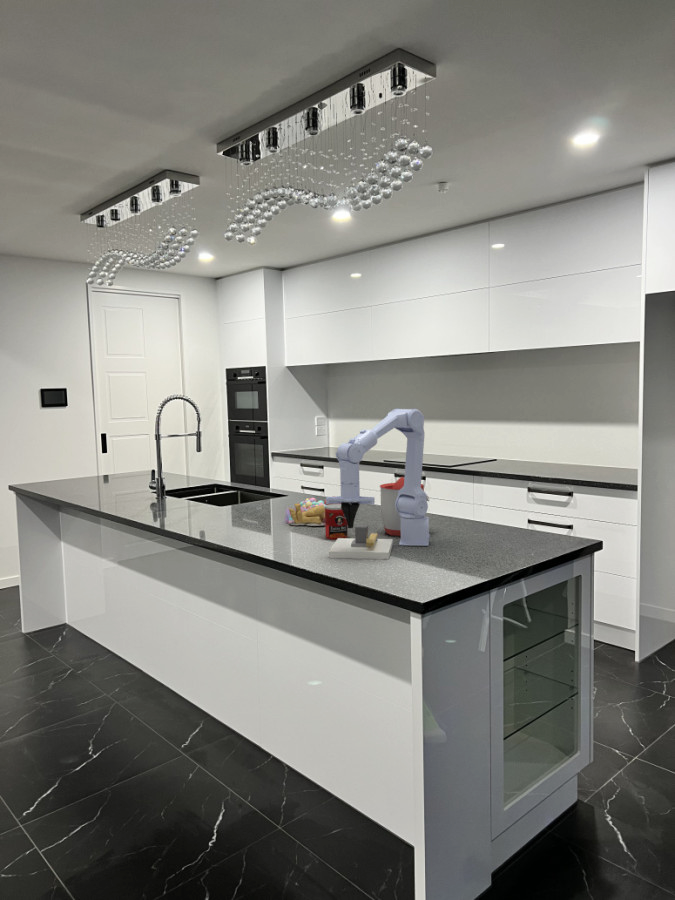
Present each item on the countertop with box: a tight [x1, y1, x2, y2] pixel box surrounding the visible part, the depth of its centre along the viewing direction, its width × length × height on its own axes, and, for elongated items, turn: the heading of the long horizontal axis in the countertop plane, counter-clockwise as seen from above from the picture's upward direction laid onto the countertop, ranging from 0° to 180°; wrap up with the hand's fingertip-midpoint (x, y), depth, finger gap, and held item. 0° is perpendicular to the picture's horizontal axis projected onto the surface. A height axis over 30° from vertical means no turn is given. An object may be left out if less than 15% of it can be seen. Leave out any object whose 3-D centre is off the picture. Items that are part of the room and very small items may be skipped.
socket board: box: [328, 537, 394, 560], centre depth 210 cm, size 18×18×2 cm
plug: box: [351, 524, 371, 547], centre depth 210 cm, size 6×6×8 cm
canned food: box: [324, 504, 349, 541], centre depth 230 cm, size 8×8×11 cm
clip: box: [366, 532, 378, 546], centre depth 210 cm, size 2×15×3 cm, turn 171°
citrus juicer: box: [379, 476, 431, 537], centre depth 234 cm, size 16×17×20 cm
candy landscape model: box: [284, 495, 337, 527], centre depth 260 cm, size 25×24×9 cm
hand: (350, 527), depth 203 cm, fingers closed
